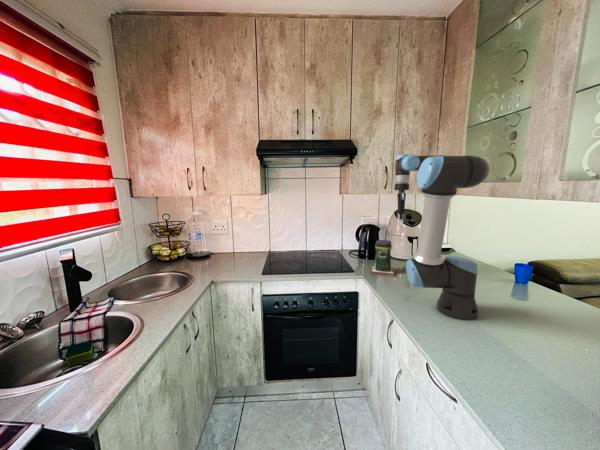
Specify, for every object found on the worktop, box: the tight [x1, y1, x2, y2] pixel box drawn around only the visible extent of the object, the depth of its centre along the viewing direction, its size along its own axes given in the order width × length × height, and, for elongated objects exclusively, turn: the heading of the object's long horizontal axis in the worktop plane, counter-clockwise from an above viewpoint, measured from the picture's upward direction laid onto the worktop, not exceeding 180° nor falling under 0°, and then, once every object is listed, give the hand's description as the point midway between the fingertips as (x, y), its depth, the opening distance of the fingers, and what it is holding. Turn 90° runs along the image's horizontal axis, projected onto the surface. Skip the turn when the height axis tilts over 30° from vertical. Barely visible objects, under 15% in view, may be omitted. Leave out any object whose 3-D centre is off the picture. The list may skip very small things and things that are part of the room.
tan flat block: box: [370, 265, 395, 278], centre depth 155 cm, size 11×13×2 cm
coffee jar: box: [374, 239, 392, 271], centre depth 153 cm, size 10×8×19 cm
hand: (400, 224), depth 143 cm, fingers closed
